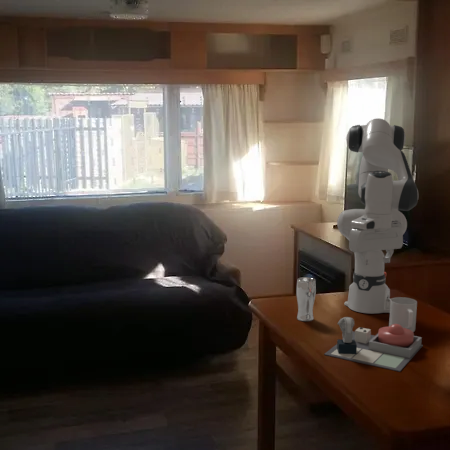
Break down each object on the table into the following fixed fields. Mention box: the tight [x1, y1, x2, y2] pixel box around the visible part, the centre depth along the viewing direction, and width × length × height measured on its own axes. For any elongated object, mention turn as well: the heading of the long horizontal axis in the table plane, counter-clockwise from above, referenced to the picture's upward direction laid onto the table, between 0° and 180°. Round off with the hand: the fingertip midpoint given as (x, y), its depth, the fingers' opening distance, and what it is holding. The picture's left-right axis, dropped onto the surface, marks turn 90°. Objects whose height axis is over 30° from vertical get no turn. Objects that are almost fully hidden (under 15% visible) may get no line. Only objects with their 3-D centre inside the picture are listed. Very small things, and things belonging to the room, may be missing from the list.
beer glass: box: [296, 276, 317, 322], centre depth 231 cm, size 7×7×15 cm
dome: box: [377, 324, 415, 347], centre depth 203 cm, size 11×11×6 cm
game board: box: [324, 326, 424, 373], centre depth 201 cm, size 25×24×4 cm
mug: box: [388, 296, 418, 333], centre depth 217 cm, size 12×9×11 cm
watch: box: [336, 316, 357, 354], centre depth 199 cm, size 6×8×11 cm
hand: (375, 263), depth 205 cm, fingers open, 8 cm apart
